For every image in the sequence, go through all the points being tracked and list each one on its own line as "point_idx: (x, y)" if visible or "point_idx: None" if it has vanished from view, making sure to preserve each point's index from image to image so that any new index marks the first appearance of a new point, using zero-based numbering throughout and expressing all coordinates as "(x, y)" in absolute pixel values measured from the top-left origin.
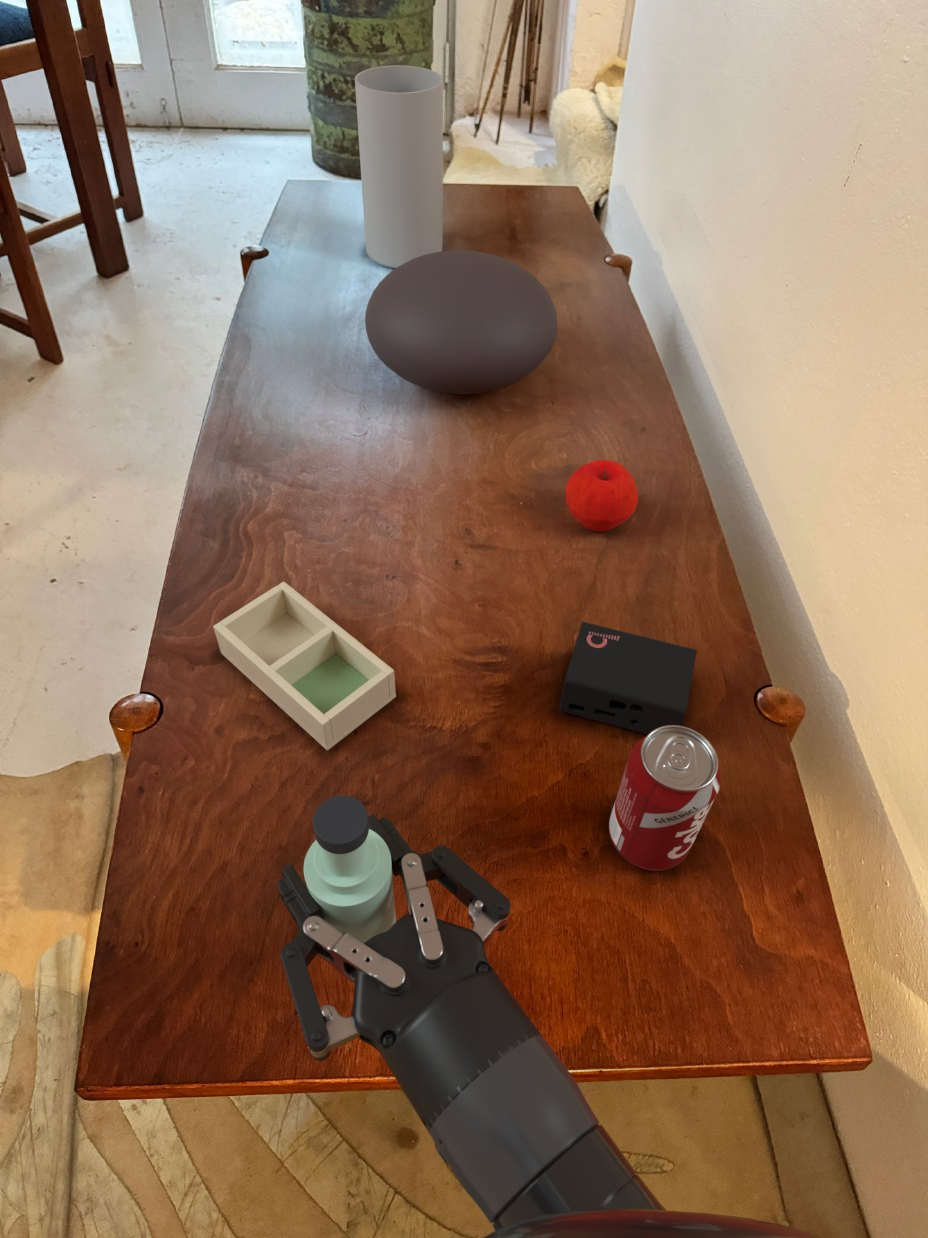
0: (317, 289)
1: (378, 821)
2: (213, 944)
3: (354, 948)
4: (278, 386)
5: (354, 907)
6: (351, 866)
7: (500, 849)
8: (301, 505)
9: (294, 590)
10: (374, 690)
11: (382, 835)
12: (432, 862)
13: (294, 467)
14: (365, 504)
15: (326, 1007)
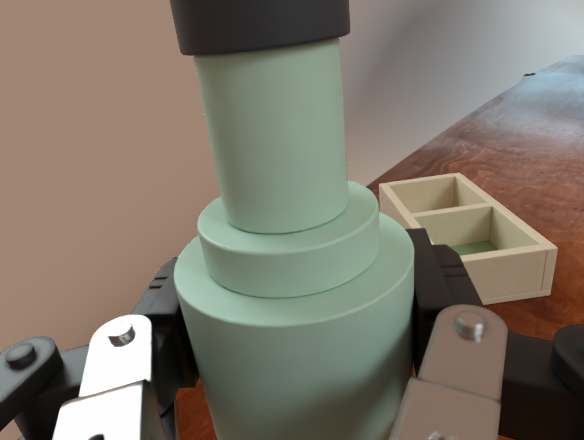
0: (566, 84)
1: (427, 236)
2: (191, 432)
3: (103, 432)
4: (514, 113)
5: (224, 332)
6: (253, 176)
7: None
8: (502, 160)
9: (466, 178)
10: (522, 261)
11: (421, 257)
12: (550, 368)
13: (507, 144)
14: (567, 167)
15: None
